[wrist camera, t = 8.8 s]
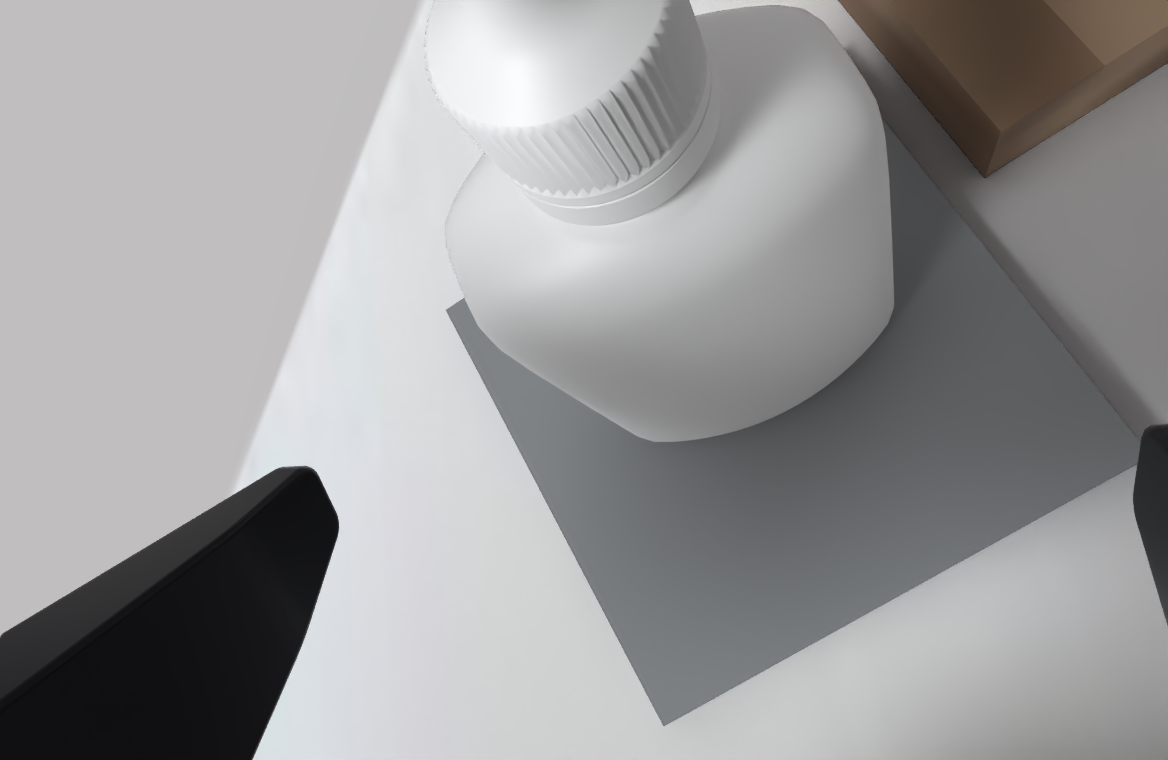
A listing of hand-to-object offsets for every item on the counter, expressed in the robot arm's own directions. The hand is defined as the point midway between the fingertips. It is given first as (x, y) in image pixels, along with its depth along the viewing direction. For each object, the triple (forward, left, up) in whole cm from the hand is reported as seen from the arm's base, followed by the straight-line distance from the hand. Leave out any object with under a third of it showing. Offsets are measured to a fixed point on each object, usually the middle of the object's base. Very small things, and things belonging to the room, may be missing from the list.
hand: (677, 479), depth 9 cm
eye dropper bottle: (+2, +3, -8) cm, 8 cm away
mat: (+1, +2, -8) cm, 9 cm away
